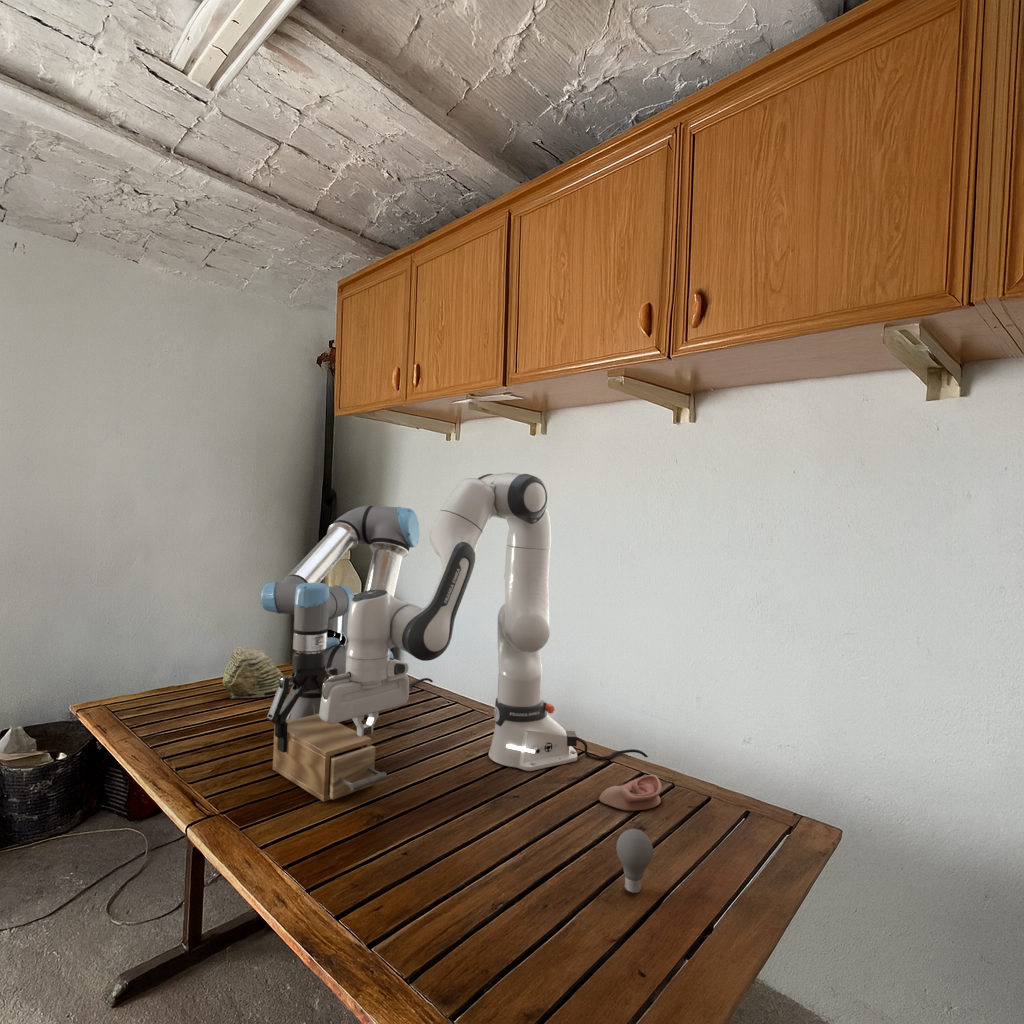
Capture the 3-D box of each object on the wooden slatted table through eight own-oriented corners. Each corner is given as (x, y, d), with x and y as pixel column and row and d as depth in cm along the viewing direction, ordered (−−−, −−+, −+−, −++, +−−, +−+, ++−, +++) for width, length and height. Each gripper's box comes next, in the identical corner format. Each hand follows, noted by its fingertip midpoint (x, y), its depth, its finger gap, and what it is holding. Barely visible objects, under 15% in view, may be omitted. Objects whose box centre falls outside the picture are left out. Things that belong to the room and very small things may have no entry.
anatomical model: (598, 788, 134) (602, 766, 145) (597, 806, 134) (601, 783, 146) (662, 796, 132) (661, 774, 143) (662, 815, 132) (660, 791, 143)
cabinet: (369, 784, 140) (371, 738, 140) (323, 801, 132) (325, 752, 131) (317, 755, 154) (318, 713, 154) (272, 769, 146) (274, 724, 146)
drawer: (390, 793, 134) (391, 754, 134) (348, 809, 127) (350, 768, 127) (323, 756, 151) (325, 722, 151) (283, 769, 144) (284, 733, 144)
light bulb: (610, 879, 108) (613, 822, 108) (644, 879, 109) (647, 822, 109) (619, 902, 102) (622, 840, 102) (655, 901, 103) (658, 840, 103)
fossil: (218, 695, 195) (220, 647, 195) (278, 685, 208) (279, 640, 207) (228, 703, 189) (230, 653, 188) (289, 692, 201) (290, 645, 201)
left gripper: (269, 661, 135) (265, 762, 136) (362, 645, 153) (359, 735, 153) (252, 655, 140) (248, 752, 141) (345, 640, 158) (341, 726, 158)
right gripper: (332, 681, 122) (329, 752, 122) (414, 663, 137) (412, 726, 138) (314, 674, 126) (311, 742, 126) (396, 657, 142) (394, 719, 142)
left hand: (306, 743), depth 147 cm, fingers closed on cabinet, 11 cm apart
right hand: (364, 734), depth 132 cm, fingers closed
